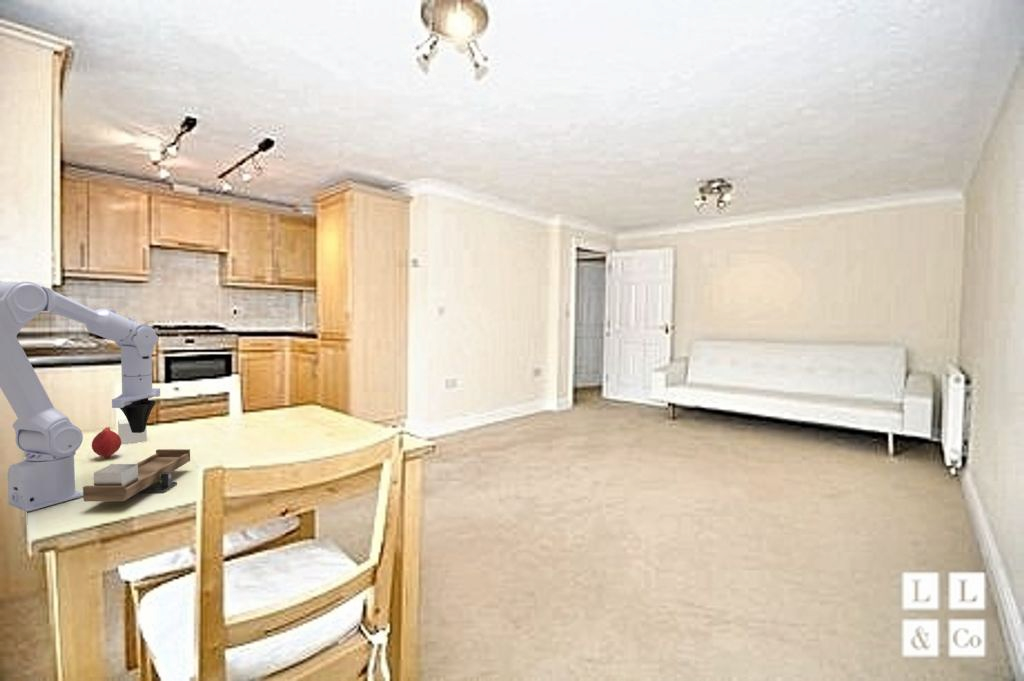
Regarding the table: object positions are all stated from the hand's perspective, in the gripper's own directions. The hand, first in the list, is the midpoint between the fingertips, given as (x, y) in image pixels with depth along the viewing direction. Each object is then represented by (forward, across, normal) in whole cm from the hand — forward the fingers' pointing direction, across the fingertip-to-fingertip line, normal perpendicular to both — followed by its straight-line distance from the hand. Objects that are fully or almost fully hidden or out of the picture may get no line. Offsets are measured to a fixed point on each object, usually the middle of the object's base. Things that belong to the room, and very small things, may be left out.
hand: (138, 432), depth 119 cm
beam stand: (+9, -12, -8) cm, 17 cm away
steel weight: (+6, -20, -8) cm, 22 cm away
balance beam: (+7, -12, -8) cm, 15 cm away
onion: (+10, +10, +14) cm, 20 cm away
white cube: (+10, +26, +17) cm, 33 cm away
